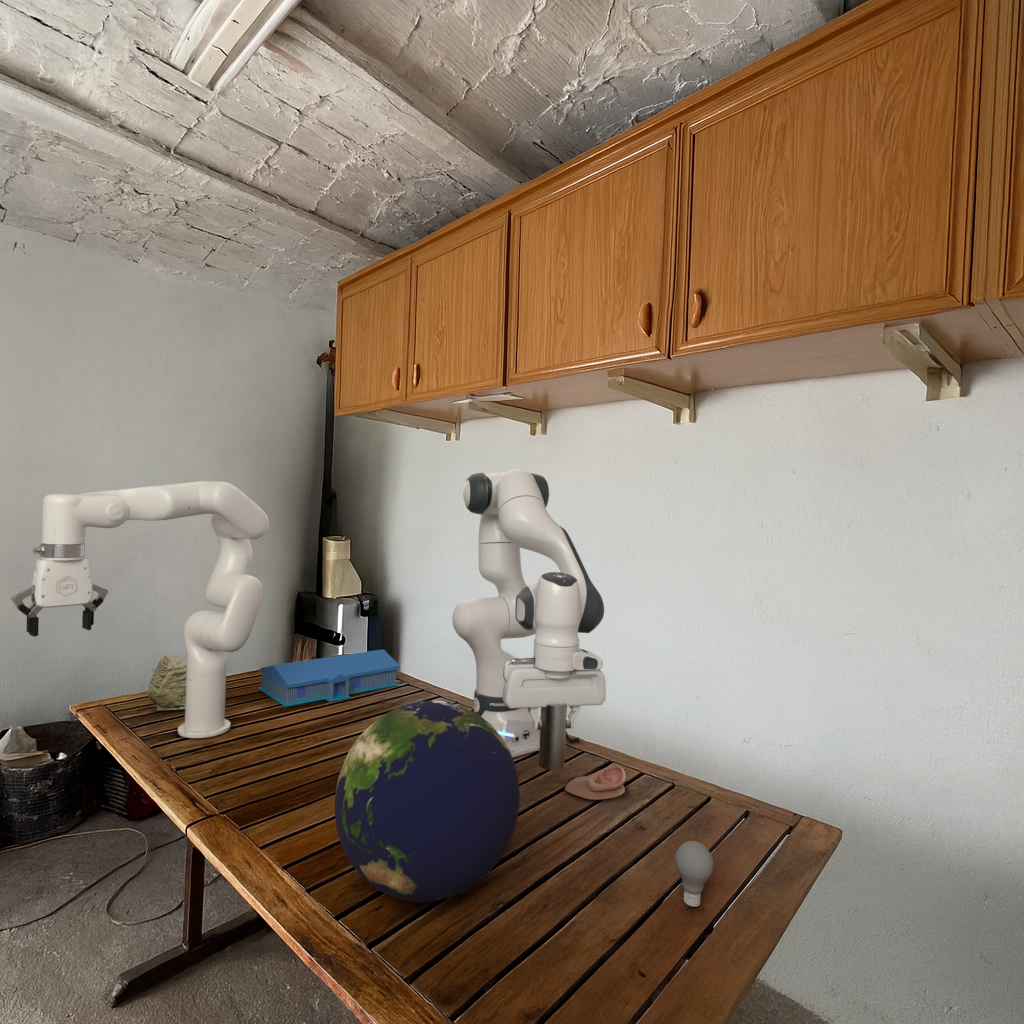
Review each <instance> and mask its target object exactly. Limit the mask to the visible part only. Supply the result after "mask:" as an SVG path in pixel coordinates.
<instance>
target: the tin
mask: <svg viewBox="0 0 1024 1024" xmlns="http://www.w3.org/2000/svg"><path fill="white" fill-rule="evenodd" d="M567 711H568V706H566V704H547V707H540V717H541V721H542V730H540V744H539V750H538V766H539V767H540V768H541V769H543V770H547V771H560V770H562V769H564V767H565V761H566V759H565V756H566V732H567V729H566V717H568V715H567V713H568V712H567Z"/></svg>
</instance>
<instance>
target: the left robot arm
mask: <svg viewBox="0 0 1024 1024" xmlns="http://www.w3.org/2000/svg"><path fill="white" fill-rule="evenodd" d="M201 515H211V527H212V529H213V531H214V533H215V535H216V537H217V539H218V540H217V541H218V543H219V554H218V558H217V560H216V563H215V565H214V568H213V569H212V572H211V576H210V578H209V580H208V582H207V584H206V588H205V591H204V597H205V600H206V602H207V603H208V604H209V605H211V606H214V607H218V608H223V609H225V611H224V612H222V611H217V610H216V611H215V610H208V609H207V610H204V609H203V610H199V611H196V612H194V613H193V614H191V615H190V616H189V617H188V618H187V619H186V621H185V623H184V627H183V639H184V646H185V651H186V652H185V653H186V657H187V672H186V701H185V709H184V722H182V724H180V725H179V726H178V727H177V734H178V735H179V736H180V737H182V738H188V739H207V738H212V737H216V736H220V735H222V734H224V733H227V732H228V731H230V729H231V727H232V725H231V723H232V722H231V721H230V720H228V719H226V718H225V715H226V692H227V691H226V689H227V668H228V667H227V665H228V664H227V656H226V653H233V652H238V651H239V650H240V649H242V647H244V646H245V644H246V643H247V641H248V640H249V637H250V635H251V633H252V630H253V628H254V625H255V622H256V621H257V617H258V614H259V612H260V609H261V607H262V603H263V600H264V587H263V584H262V582H261V581H260V580H259V578H257V577H256V576H253V575H250V574H249V572H250V569H251V565H252V562H253V558H254V552H253V548H252V545H251V542H250V541H251V540H258V539H261V538H262V537H263V536H266V533H267V532H268V530H269V527H270V523H269V518H268V515H267V513H266V512H265V510H264V509H262V508H261V506H259V505H258V504H257V503H256V502H254V501H253V500H252V499H251V498H250V497H249V496H248V495H246V494H245V492H243V491H242V490H240V489H239V488H238V487H236V486H235V485H234V484H232V483H230V482H227V481H211V480H209V481H208V480H202V481H192V482H189V481H188V482H182V483H171V484H161V485H149V486H141V487H133V488H122V489H111V490H101V491H92V492H91V491H90V492H83V493H79V494H74V493H73V494H72V493H49V494H47V495H45V496H44V497H43V500H42V519H41V521H42V523H41V543H40V545H39V546H37V547H36V546H35V547H33V549H32V553H33V555H39V557H40V558H37V560H36V563H35V567H34V571H33V577H32V584H31V586H30V587H28V588H26V589H24V590H22V591H20V592H17V593H16V594H14V595H12V596H11V597H10V599H11V601H12V603H13V605H14V606H15V608H16V610H18V611H19V612H20V613H22V614H23V615H24V616H26V629H25V630H26V633H28V634H29V636H32V638H33V637H34V638H35V637H38V636H39V625H40V624H39V623H40V622H39V621H40V620H39V619H40V618H39V617H38V616H37V615H38V614H39V613H40V612H41V611H42V610H43V609H49V608H50V609H51V608H61V607H73V606H74V607H75V606H83V608H84V609H83V610H82V617H81V618H82V619H81V620H82V621H81V623H82V624H81V627H82V629H84V630H86V631H92V626H94V622H95V621H94V620H95V612H96V611H97V609H98V608H99V607H100V606H101V605H102V604H103V603H104V600H105V599H106V597H107V595H108V593H109V590H108V589H107V588H104V587H101V586H99V585H96V584H94V583H93V574H92V567H91V561H90V558H89V557H85V549H86V528H87V527H91V528H98V529H114V528H118V527H120V526H122V525H123V524H125V523H126V522H127V521H147V522H148V521H150V522H151V521H152V522H153V521H154V522H155V521H156V522H158V521H169V520H174V519H180V518H187V517H194V516H201ZM94 592H96V593H97V596H96V597H95V598H94V599H93V597H94ZM28 597H30V601H31V603H32V604H31V605H29V607H28V606H27V605H25V603H24V602H23V601H24V599H26V598H28Z"/></svg>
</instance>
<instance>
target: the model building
mask: <svg viewBox="0 0 1024 1024" xmlns="http://www.w3.org/2000/svg"><path fill="white" fill-rule="evenodd" d="M400 669H401V665H400V664H399V663H398V662H397V661H396V660H395V659H394V658H393V657H392V656H391V654H389V653H388V652H387V651H386V650H385V649H376V650H368V651H363V652H356V653H349V654H342V655H341V654H340V655H335V656H329V657H328V656H327V657H321V658H315V659H314V658H313V659H307V660H300V661H293V662H287V663H278V664H272V665H268V666H264V667H263V666H262V667H260V668H259V672H260V673H261V686H260V687H258V690H260V691H261V692H262V693H264V694H265V695H267V696H268V697H270V698H271V699H273V700H274V701H276V702H277V703H279V704H280V705H282V706H283V707H290V706H297V705H302V704H307V703H312V702H317V701H323V700H325V701H327V702H329V703H330V702H335V701H341V700H346V699H347V700H348V699H350V698H351V695H353V694H359V693H364V692H365V693H366V692H369V691H373V690H381V689H385V688H390V687H391V688H392V687H395V686H399V683H398V682H397V670H400Z"/></svg>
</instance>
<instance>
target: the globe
mask: <svg viewBox="0 0 1024 1024" xmlns="http://www.w3.org/2000/svg"><path fill="white" fill-rule="evenodd" d="M335 787H336V788H335V795H334V818H335V819H334V820H335V827H336V831H337V835H338V839H339V842H340V845H341V847H342V849H343V852H344V854H345V855H346V857H347V860H348V862H350V864H351V865H352V867H353V868H354V869H355V871H356V872H357V873H358V875H359V876H360V877H362V878H363V880H365V881H366V882H367V883H368V884H369V885H371V886H372V887H373V888H374V889H376V890H378V891H379V892H381V893H382V894H385V895H387V896H389V897H392V898H395V899H396V900H397V899H398V900H402V901H404V902H411V903H434V902H440V901H444V900H447V899H451V898H453V897H456V896H458V895H460V894H463V893H464V892H466V891H468V890H469V889H472V887H475V886H476V885H478V884H479V883H480V882H481V881H482V880H483V879H484V878H485V877H486V876H487V875H488V874H489V873H491V871H492V870H493V869H494V868H495V867H496V866H497V864H498V863H499V862H500V860H501V859H502V857H503V855H504V854H505V852H506V850H507V848H508V847H509V845H510V842H511V840H512V838H513V835H514V833H515V829H516V826H517V822H518V817H519V812H520V798H521V796H520V795H521V793H520V782H519V776H518V771H517V767H516V764H515V760H514V757H513V758H512V755H511V752H510V750H509V748H508V747H507V745H506V743H505V741H504V740H503V738H502V737H501V736H500V734H499V733H498V732H497V731H496V730H495V729H494V727H493V726H492V725H491V724H490V723H489V722H487V721H486V720H485V719H484V718H482V717H481V716H480V715H478V714H476V713H475V712H474V710H471V709H470V708H468V707H465V706H463V705H459V704H457V703H453V702H449V701H445V700H423V701H422V700H421V701H416V702H411V703H407V704H404V705H400V706H399V707H396V708H395V709H393V710H390V711H388V712H387V713H385V714H383V715H382V716H381V717H379V718H377V720H375V721H374V722H373V723H371V724H370V725H369V726H368V727H367V728H366V729H365V730H364V731H363V732H362V733H361V734H360V735H359V736H358V737H357V739H356V741H355V742H354V743H353V745H352V747H351V748H350V749H349V751H348V753H347V755H346V757H345V759H344V761H343V764H342V766H341V769H340V772H339V775H338V778H337V783H336V786H335Z"/></svg>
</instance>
